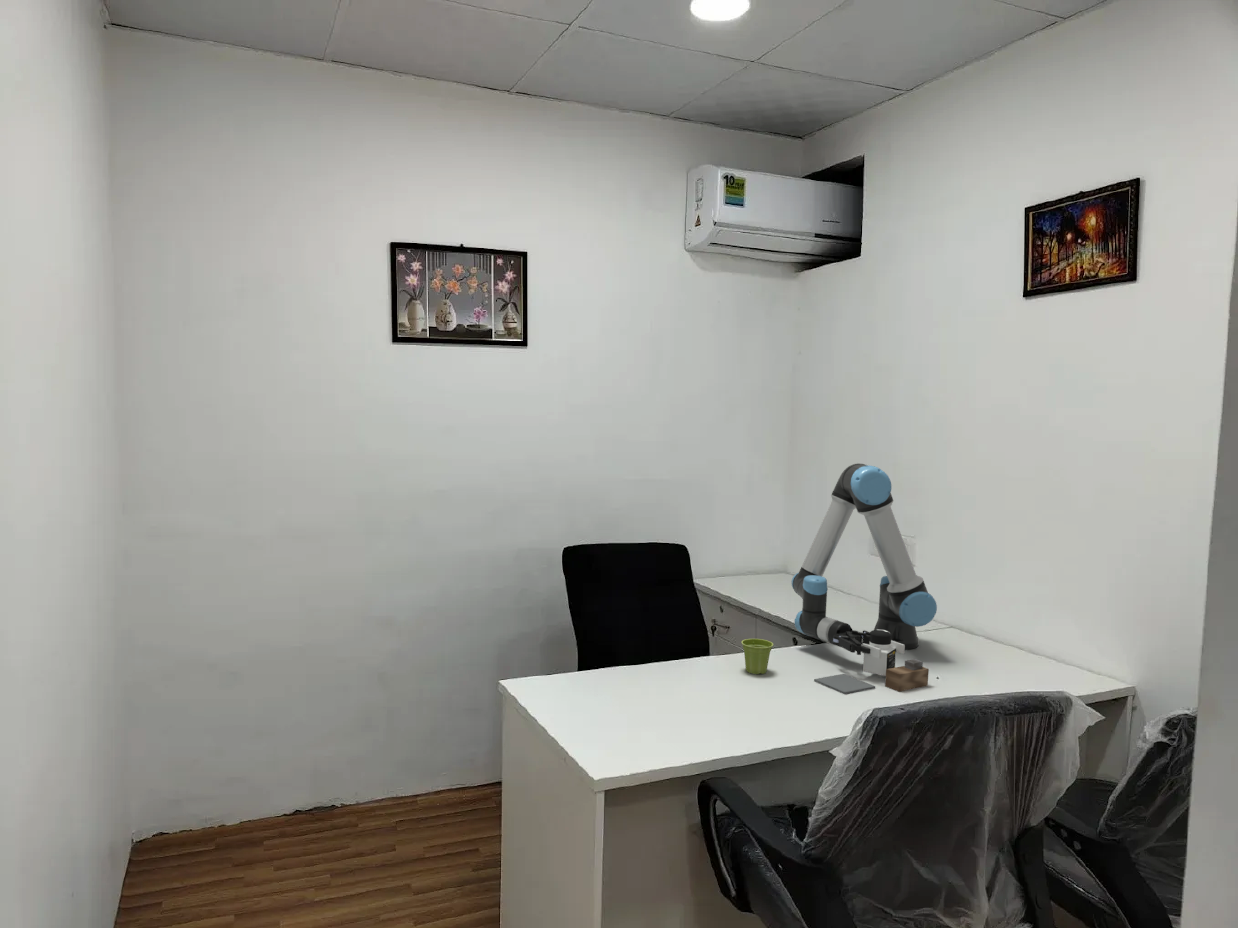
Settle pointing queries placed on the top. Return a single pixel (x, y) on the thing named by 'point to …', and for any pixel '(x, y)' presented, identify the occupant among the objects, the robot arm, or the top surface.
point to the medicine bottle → (888, 652)
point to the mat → (844, 683)
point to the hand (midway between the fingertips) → (892, 651)
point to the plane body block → (907, 676)
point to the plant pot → (756, 655)
